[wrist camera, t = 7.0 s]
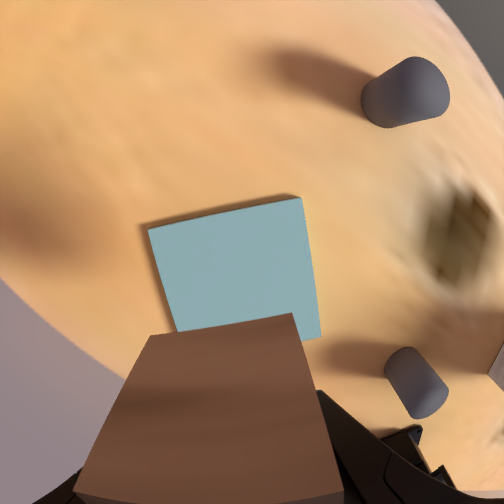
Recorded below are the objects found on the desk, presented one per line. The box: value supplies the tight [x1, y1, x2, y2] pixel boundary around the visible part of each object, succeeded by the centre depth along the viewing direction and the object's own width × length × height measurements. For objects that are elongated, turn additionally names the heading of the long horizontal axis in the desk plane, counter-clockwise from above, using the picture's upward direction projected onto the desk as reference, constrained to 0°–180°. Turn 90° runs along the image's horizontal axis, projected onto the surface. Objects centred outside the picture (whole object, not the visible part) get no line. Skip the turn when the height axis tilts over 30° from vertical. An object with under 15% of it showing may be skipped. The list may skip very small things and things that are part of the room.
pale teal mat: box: [148, 197, 321, 341], centre depth 18 cm, size 9×9×1 cm
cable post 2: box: [384, 347, 449, 419], centre depth 18 cm, size 3×3×5 cm
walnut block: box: [73, 312, 344, 504], centre depth 7 cm, size 4×4×6 cm
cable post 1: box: [361, 57, 450, 128], centre depth 13 cm, size 3×3×5 cm
